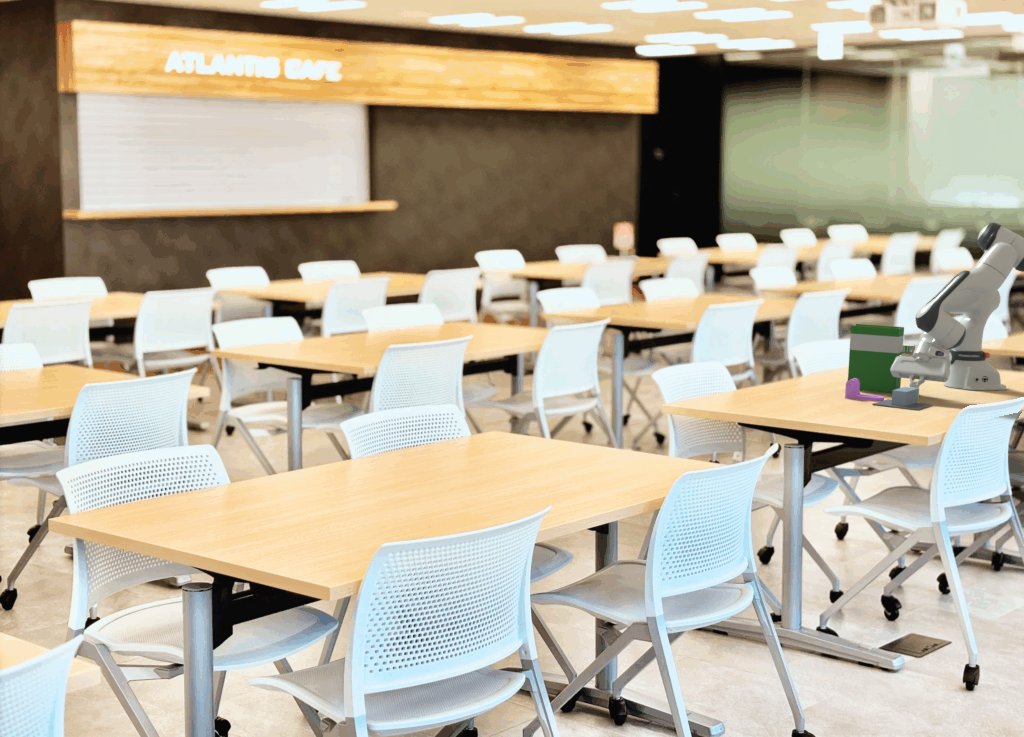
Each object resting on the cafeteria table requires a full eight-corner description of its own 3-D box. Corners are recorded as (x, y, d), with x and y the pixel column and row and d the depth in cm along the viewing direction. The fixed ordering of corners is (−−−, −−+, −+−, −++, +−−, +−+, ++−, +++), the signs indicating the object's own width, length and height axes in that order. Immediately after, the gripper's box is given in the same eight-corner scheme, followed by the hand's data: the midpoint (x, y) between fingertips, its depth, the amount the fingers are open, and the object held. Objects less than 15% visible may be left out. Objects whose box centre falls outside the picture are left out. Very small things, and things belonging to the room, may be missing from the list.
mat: (888, 400, 468) (888, 399, 468) (932, 405, 458) (932, 404, 458) (872, 404, 457) (872, 403, 457) (917, 410, 447) (917, 409, 447)
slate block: (905, 386, 465) (892, 390, 455) (919, 388, 462) (906, 391, 452) (904, 400, 465) (891, 404, 456) (918, 402, 462) (905, 406, 453)
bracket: (845, 398, 471) (846, 379, 470) (848, 396, 476) (849, 377, 475) (882, 402, 465) (883, 382, 464) (885, 400, 470) (886, 380, 469)
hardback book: (847, 389, 492) (851, 325, 489) (852, 387, 498) (856, 323, 495) (895, 394, 483) (899, 328, 480) (900, 391, 490) (904, 327, 486)
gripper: (895, 348, 474) (883, 378, 468) (951, 353, 462) (940, 384, 455) (899, 359, 478) (887, 389, 472) (955, 365, 466) (944, 395, 460)
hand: (913, 387), depth 464 cm, fingers closed
